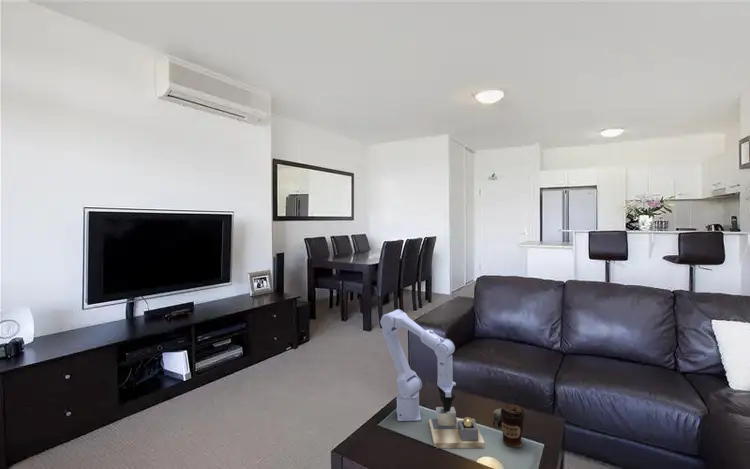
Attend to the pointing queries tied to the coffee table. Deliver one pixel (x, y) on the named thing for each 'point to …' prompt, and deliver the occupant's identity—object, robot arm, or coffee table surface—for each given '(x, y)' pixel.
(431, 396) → the coffee table surface
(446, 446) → the base
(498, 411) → the rhino figurine
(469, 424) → the pin
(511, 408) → the coffee cup
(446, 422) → the block
